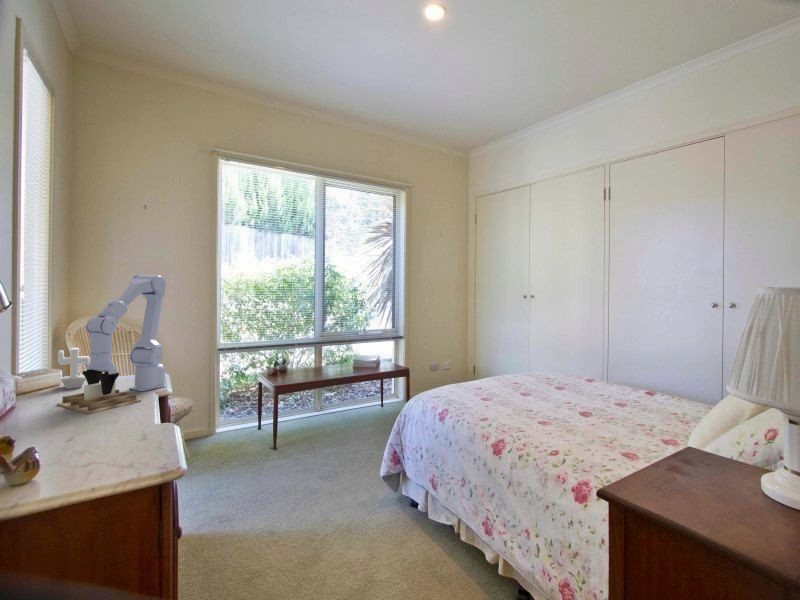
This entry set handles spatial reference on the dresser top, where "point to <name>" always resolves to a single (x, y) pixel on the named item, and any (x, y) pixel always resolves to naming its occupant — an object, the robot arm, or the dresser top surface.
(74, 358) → the figurine
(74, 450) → the dresser top surface
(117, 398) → the dish rack
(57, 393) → the dresser top surface
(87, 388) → the cream slab
